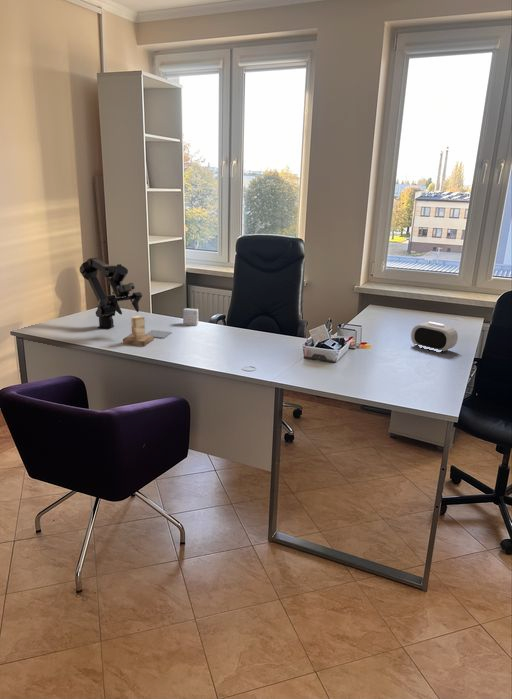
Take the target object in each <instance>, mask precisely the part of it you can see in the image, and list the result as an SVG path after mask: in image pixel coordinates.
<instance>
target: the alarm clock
mask: <svg viewBox="0 0 512 699" xmlns="http://www.w3.org/2000/svg"><path fill="white" fill-rule="evenodd" d="M410 340H411V342H412V343H413V345H415V344H417V345H422V346H426V347H430V348H434V349H438V350H442V351H443V352H446V351H448V350H450V349H452V348H454V347H455V346H456V344H457V342H458V331H457V330H456V329H455V328H454V327H452V326H449V325H446V324H444V323H441V322H440V323H439V322H434V321H425V322H422V323H420V324H417V325H415V326H414V327H413V328H412V330H411V333H410Z"/></svg>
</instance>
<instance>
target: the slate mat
mask: <svg viewBox="0 0 512 699" xmlns="http://www.w3.org/2000/svg"><path fill="white" fill-rule="evenodd" d="M145 334H146V335H153V339H154V338H155V339H162V338H163V340H164V339H166V338H167V337H169V336H170V335H171V334H173V332H172V331H166V330H165V331H164V330H156V329H155V330H154V329H151V330H150V331H148V332H147V333H145ZM168 335H169V336H168Z"/></svg>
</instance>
